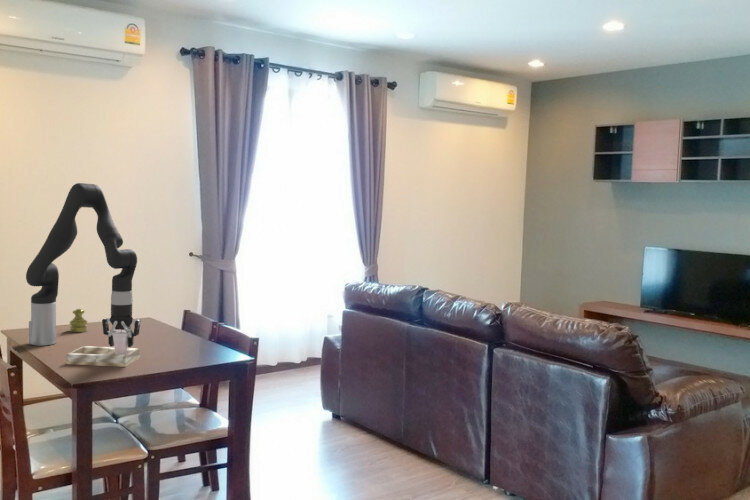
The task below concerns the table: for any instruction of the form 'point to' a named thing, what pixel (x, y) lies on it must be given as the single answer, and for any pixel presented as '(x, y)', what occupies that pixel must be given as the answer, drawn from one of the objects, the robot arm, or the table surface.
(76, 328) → the olive green stacked toy
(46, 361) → the table surface
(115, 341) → the smoothie
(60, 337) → the table surface
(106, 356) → the cream rectangular tray
